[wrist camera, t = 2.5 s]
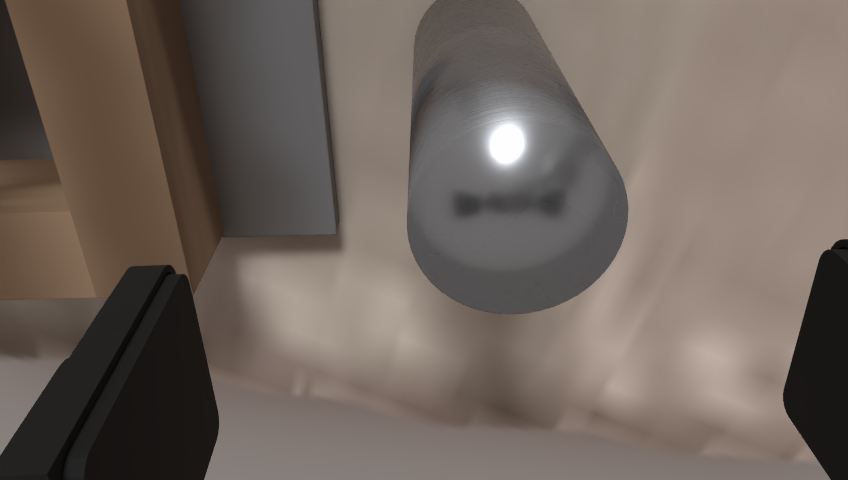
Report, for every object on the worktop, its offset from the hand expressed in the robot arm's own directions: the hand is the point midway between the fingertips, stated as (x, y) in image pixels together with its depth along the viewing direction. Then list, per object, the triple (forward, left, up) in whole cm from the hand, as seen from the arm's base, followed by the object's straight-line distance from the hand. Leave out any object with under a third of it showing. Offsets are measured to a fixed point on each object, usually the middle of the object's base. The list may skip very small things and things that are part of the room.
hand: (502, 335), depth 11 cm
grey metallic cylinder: (-1, 0, -15) cm, 15 cm away
